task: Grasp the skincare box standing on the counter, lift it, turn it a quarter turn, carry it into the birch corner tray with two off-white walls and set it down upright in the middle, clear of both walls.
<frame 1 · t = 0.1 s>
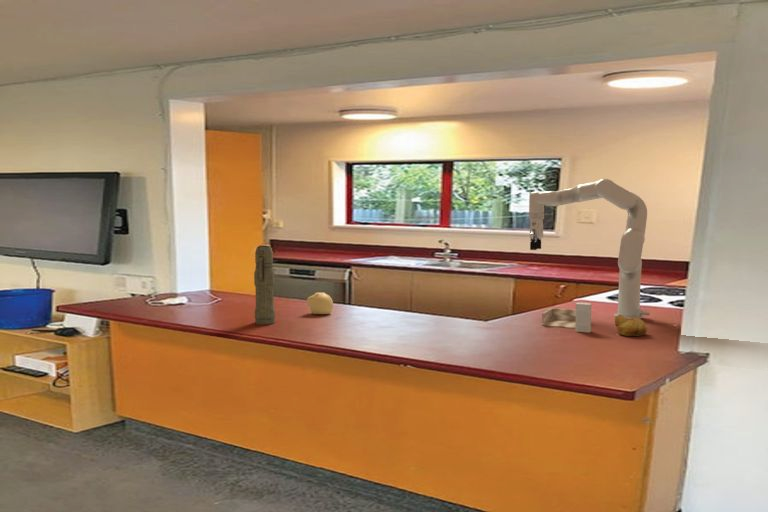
hand: (535, 249, 286), 31 cm above the worktop, tool pointing down, fingers open, 9 cm apart
corner tray: (566, 324, 250), on the worktop
pale yellow round lump: (320, 314, 274), on the worktop
bread roll: (632, 335, 229), on the worktop
grey stone statue: (264, 323, 251), on the worktop
skincare box: (583, 331, 236), on the worktop
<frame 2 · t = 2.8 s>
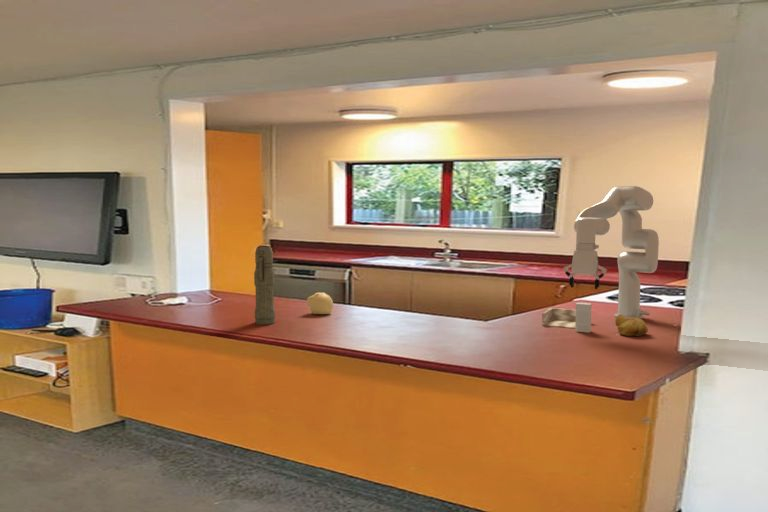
hand: (584, 288, 234), 18 cm above the worktop, tool pointing down, fingers open, 9 cm apart
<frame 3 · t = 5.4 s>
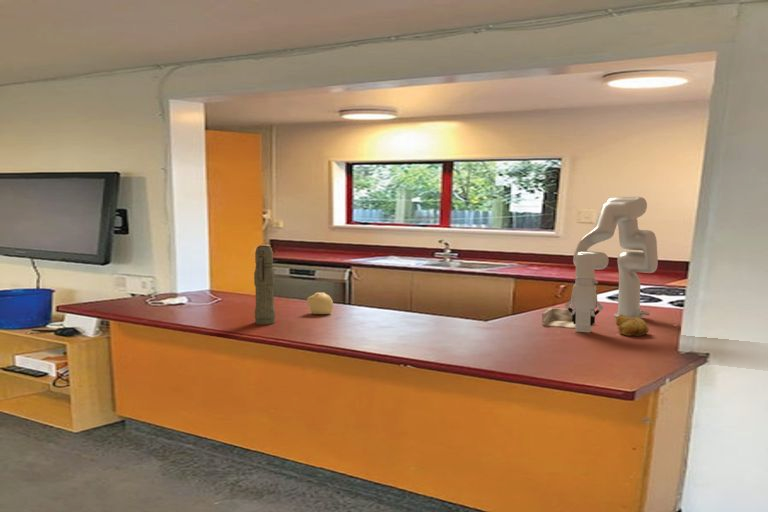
hand: (583, 324, 235), 3 cm above the worktop, tool pointing down, fingers closed on skincare box, 6 cm apart
skincare box: (582, 331, 236), on the worktop, touching gripper
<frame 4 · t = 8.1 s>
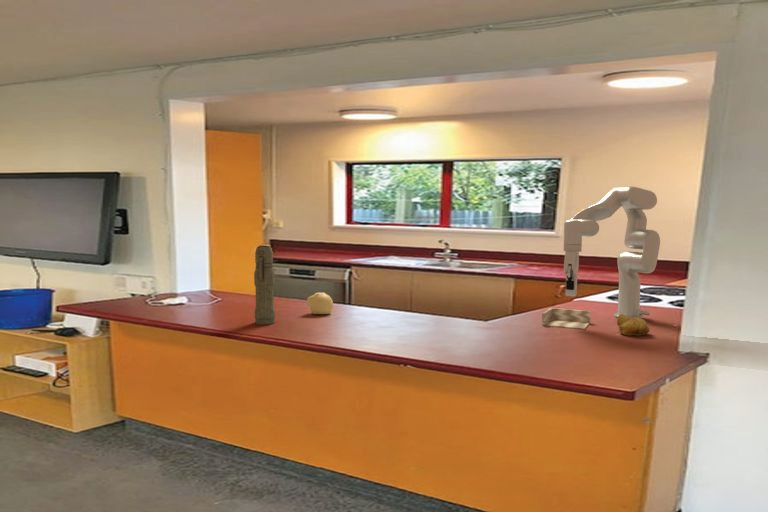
hand: (571, 288, 246), 17 cm above the worktop, tool pointing down, fingers closed on skincare box, 6 cm apart
skincare box: (571, 295, 247), point 13 cm above the worktop, touching gripper
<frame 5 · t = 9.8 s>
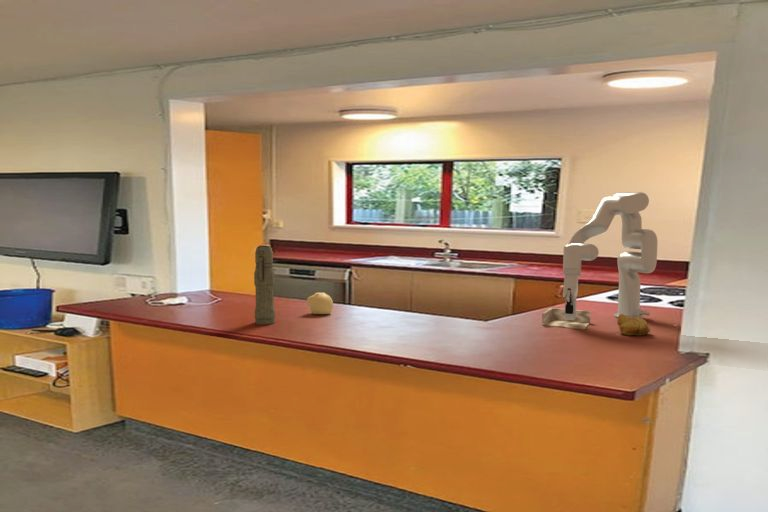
hand: (570, 312, 247), 6 cm above the worktop, tool pointing down, fingers closed on skincare box, 6 cm apart
skincare box: (570, 319, 247), point 3 cm above the worktop, touching gripper
when the fingers open (5 cm above the worktop, at t = 11.0 s): skincare box moves 1 cm, resting on corner tray.
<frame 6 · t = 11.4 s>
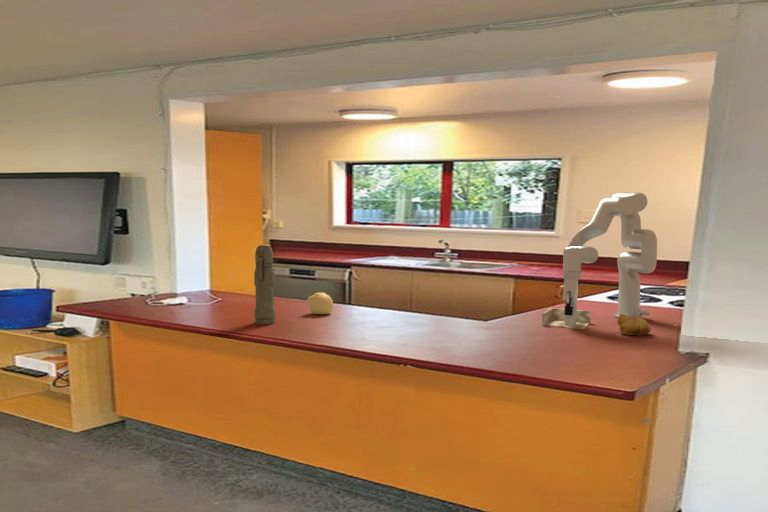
hand: (570, 313, 247), 5 cm above the worktop, tool pointing down, fingers open, 9 cm apart
skincare box: (570, 324, 248), resting on corner tray
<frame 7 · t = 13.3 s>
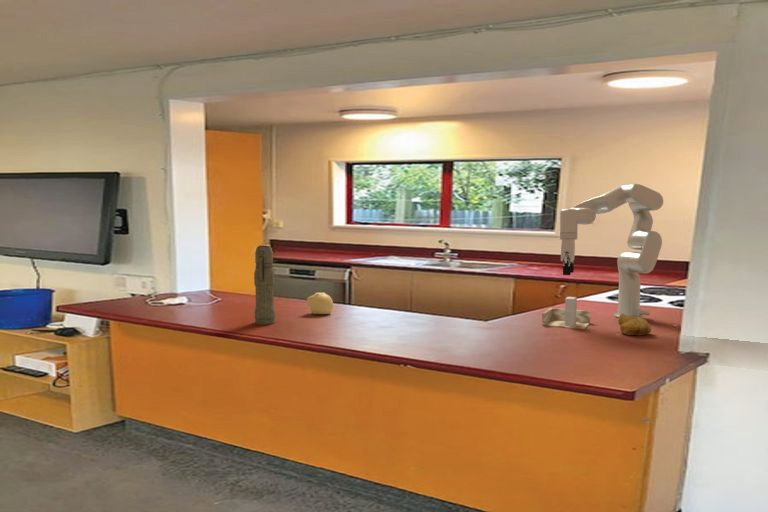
hand: (568, 273, 253), 22 cm above the worktop, tool pointing down, fingers open, 9 cm apart
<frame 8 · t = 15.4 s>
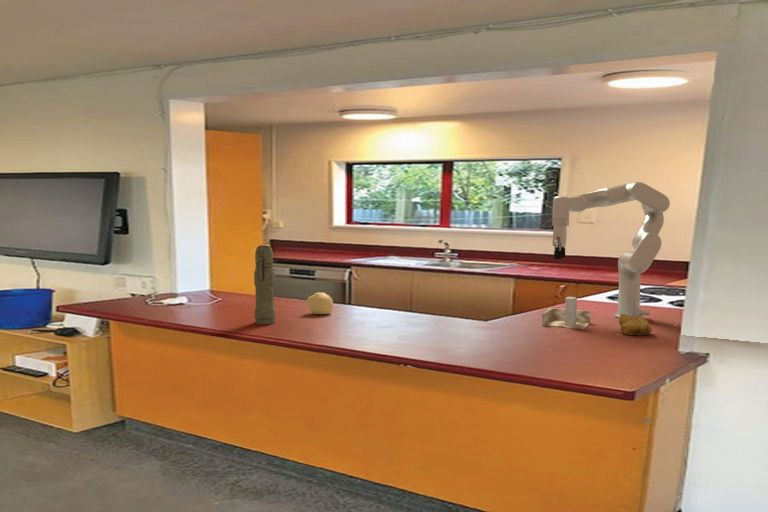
hand: (559, 258, 266), 28 cm above the worktop, tool pointing down, fingers open, 9 cm apart
at the end: skincare box inside the target area on the corner tray (1.3 cm from its centre), point 0.3 cm above the corner tray's base; skincare box tilted 0°; the gripper is holding nothing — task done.
